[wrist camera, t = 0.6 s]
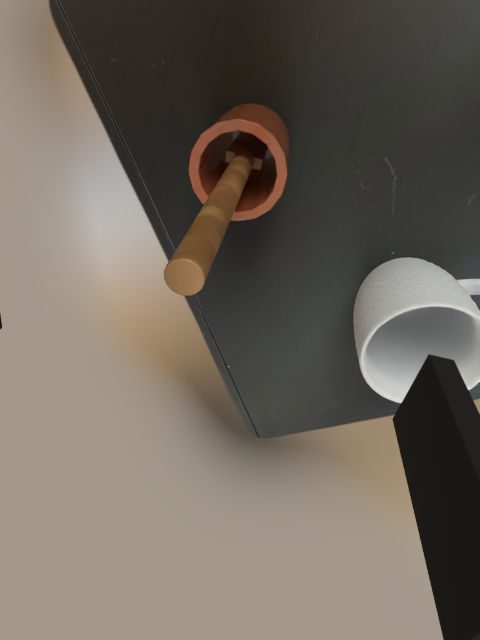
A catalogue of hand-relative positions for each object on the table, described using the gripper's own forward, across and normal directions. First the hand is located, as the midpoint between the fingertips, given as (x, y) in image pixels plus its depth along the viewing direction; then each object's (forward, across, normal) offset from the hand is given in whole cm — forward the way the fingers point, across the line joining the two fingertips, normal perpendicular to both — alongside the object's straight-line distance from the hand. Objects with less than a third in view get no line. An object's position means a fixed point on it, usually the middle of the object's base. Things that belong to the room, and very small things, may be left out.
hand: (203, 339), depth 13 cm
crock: (+34, -2, -1) cm, 34 cm away
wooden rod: (+33, -2, -1) cm, 33 cm away
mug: (+34, +18, -12) cm, 40 cm away
